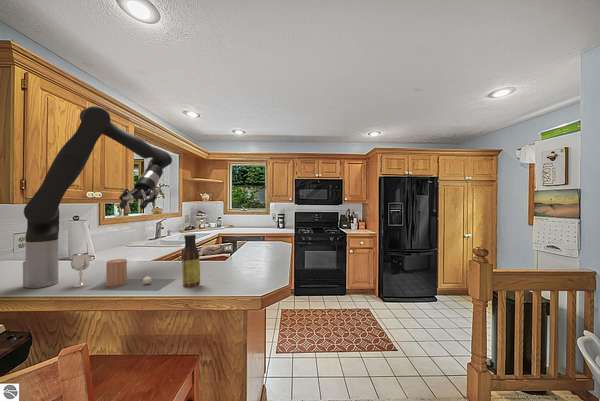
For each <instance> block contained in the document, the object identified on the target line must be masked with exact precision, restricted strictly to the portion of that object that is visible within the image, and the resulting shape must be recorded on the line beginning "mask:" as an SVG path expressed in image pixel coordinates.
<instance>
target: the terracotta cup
mask: <svg viewBox="0 0 600 401" xmlns="http://www.w3.org/2000/svg"><path fill="white" fill-rule="evenodd" d="M127 261H128V260H127V258H116V259H109V260H107V261H106V265H105V266H106V275H105V279H106V281H105V282H106V286H108V287H115V286H121V285H124V284H126V283H127V279H128V276H127V274H128V270H127V268H128V262H127Z"/></svg>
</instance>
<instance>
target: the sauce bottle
mask: <svg viewBox="0 0 600 401" xmlns="http://www.w3.org/2000/svg"><path fill="white" fill-rule="evenodd" d="M196 236H197V235H196V234H194V233H191V234H190V233H189V234H185V235H184V241H185V242H184V249H183V250H182V252H181V256H182V260H181V266H182V268H181V269H182V272H181V273H182V286H183V287H184V288H195V287H199V286H200V285H201V282H200V281H201V272H200V271H201V270H200V268H201V266H200V265H201V264H200V254H199V251H198V248H197V245H196V244H197V243H196V239H197V237H196Z"/></svg>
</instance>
